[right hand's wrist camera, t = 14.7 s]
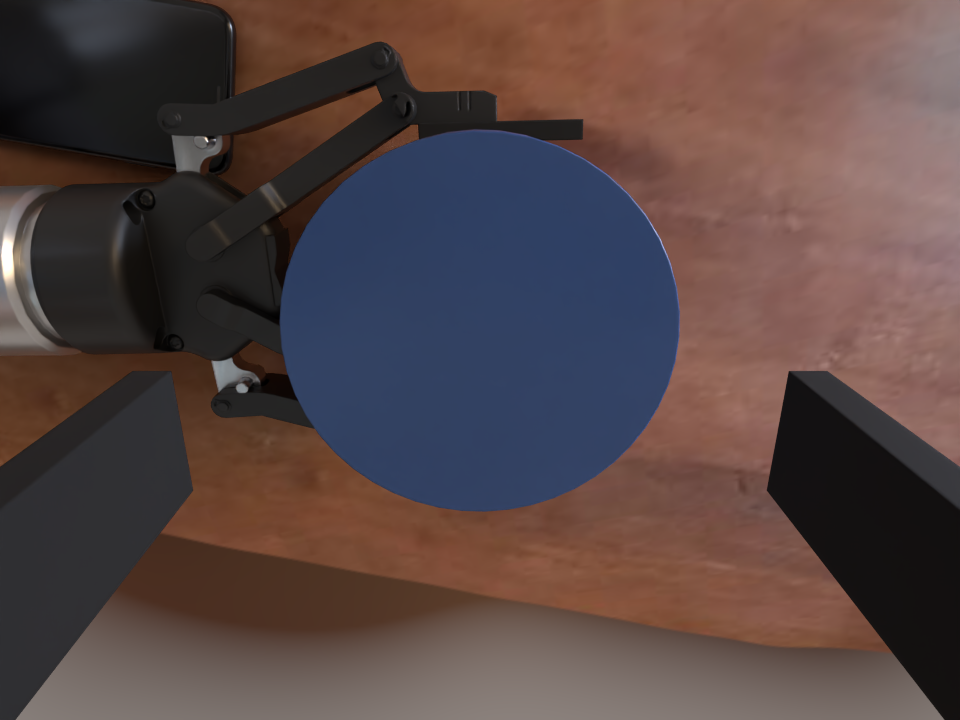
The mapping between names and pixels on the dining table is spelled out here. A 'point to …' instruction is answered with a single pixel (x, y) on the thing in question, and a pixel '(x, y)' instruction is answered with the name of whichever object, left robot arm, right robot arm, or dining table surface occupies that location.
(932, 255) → the dining table surface
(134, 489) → the right robot arm
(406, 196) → the lid
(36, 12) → the smartphone
